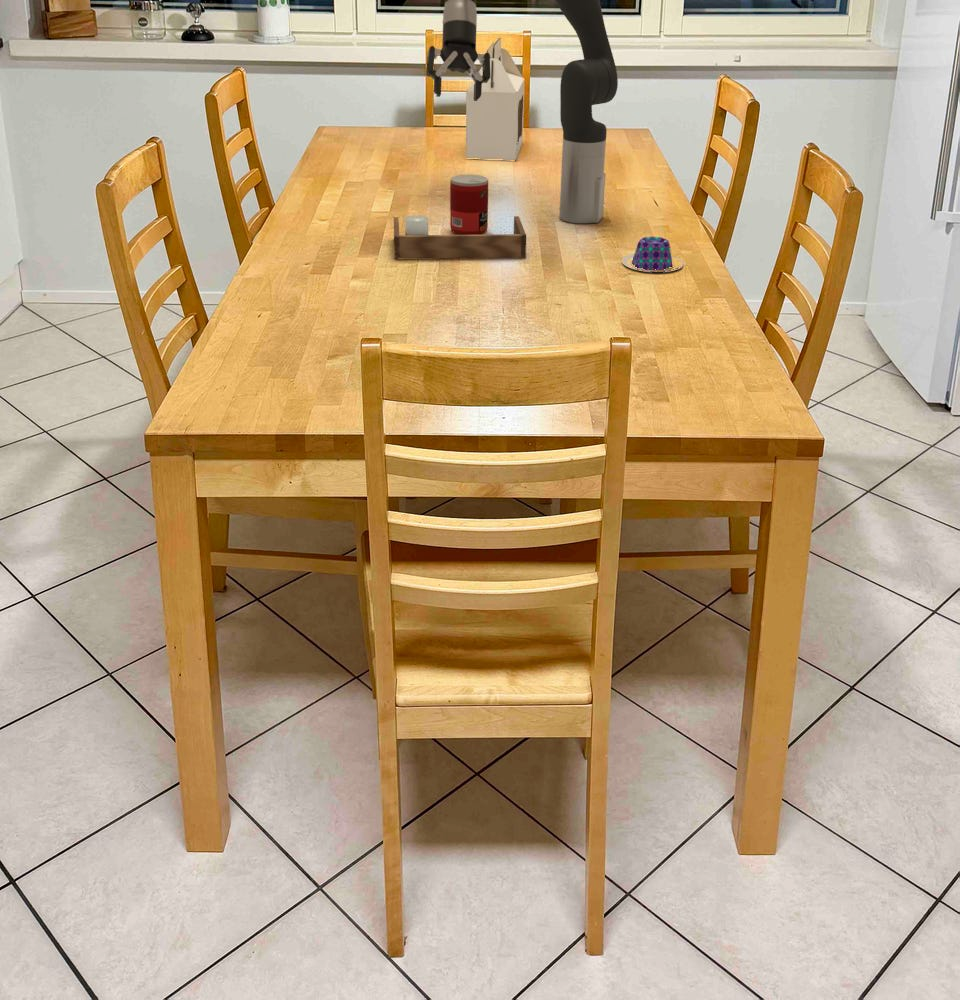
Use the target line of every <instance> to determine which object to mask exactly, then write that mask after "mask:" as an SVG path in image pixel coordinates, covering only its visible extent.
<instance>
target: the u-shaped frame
mask: <svg viewBox="0 0 960 1000" xmlns="http://www.w3.org/2000/svg"><path fill="white" fill-rule="evenodd" d="M513 217H514V218H513V234H512V233H510V234H509V233H508V234H507V233H505V234H502V233H501V234H499V233H497V234H479V235H460V234H428V235H405V234H404V235H403V234H401V235H400V222H399V219H400V218H399V216H396V217H395V216H394V217H393V243H394V244H393V245H394V246H393V248H394V259H395V258H467V259H526V257H527V233H526V231H525V228H524V225H523V223H522V220H521V218H520V216H519V215H517V216H516V215H514V216H513Z"/></svg>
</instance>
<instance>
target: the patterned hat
mask: <svg viewBox="0 0 960 1000" xmlns="http://www.w3.org/2000/svg"><path fill="white" fill-rule="evenodd" d="M669 241H670V240H668V239H667V238H664V237H662V236H645V237H642V238H641V239H639V240H638V241H637V245H636V248H635V252H634V253H633V254H628V255H626V256H624V257H623V258H622V260H621V263H622V264H623V265H624V266H625V267H627V268H630V269H631V270H636V271H638V272H639V271H640V272H643V271H642V270H643V269H645V270H644V272H645V273H651V272H650V271H646V270H655V269H656V270H664V269H666V268H669V267H672V266H673V265H672V258H675V259H677V260H679V261H680V262H681V264H682V265H681V267H679V268H678V269H674V270H671V271H667V269H666V270H665V272H664V273H669V272H673V271H676V270H679V269H681V268H683V266H684V263H683V261H682V260H680V259H679V258H677V257H675V256H672V252H671V246H670V245H671V244H670V242H669ZM632 257H633V260H632V262H631V263H632V264H633V265H632V264H631V265H632V266H634V265H635V267H637V268H636V269H635V267H634V268H632V267H630V266H629V265H628V264H627V261H628V260H630V258H632ZM638 268H643V269H640V270H637V269H638ZM672 268H673V267H672ZM656 270H655V271H656Z"/></svg>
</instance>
